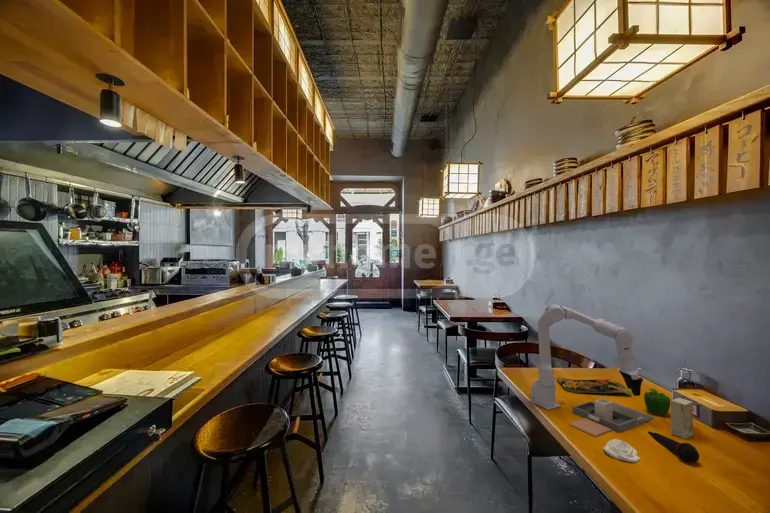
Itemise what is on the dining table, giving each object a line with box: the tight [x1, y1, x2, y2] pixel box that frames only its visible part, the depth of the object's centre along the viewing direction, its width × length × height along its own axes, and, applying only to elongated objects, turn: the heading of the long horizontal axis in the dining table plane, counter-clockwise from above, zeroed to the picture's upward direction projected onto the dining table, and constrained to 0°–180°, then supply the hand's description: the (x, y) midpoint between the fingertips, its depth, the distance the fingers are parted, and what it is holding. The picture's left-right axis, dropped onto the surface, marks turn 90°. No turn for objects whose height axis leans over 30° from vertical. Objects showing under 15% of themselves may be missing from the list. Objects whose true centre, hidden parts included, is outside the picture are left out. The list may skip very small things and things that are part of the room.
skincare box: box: [670, 397, 694, 440], centre depth 121 cm, size 6×4×12 cm
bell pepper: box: [643, 387, 671, 417], centre depth 138 cm, size 8×8×10 cm
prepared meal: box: [556, 377, 633, 397], centre depth 165 cm, size 28×4×18 cm
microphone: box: [647, 430, 700, 463], centre depth 112 cm, size 6×6×20 cm
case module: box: [594, 398, 614, 421], centre depth 133 cm, size 4×5×7 cm
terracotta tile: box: [568, 417, 613, 438], centre depth 126 cm, size 10×10×1 cm
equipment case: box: [571, 400, 655, 434], centre depth 135 cm, size 18×25×2 cm
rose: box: [602, 438, 641, 463], centre depth 109 cm, size 10×4×10 cm
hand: (633, 391), depth 133 cm, fingers open, 7 cm apart
